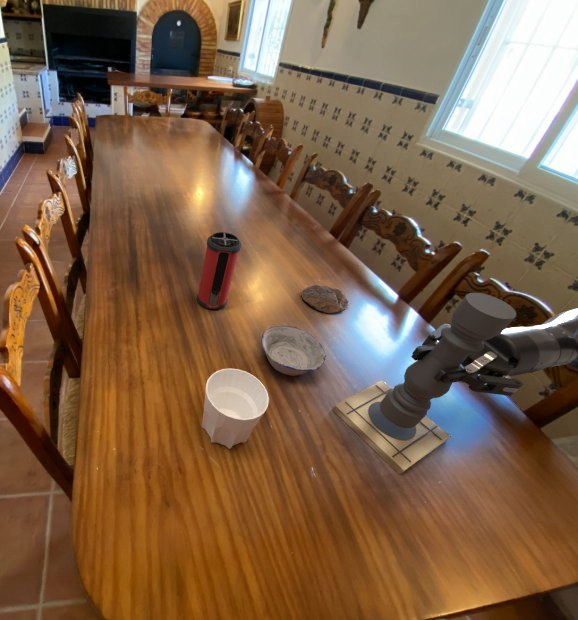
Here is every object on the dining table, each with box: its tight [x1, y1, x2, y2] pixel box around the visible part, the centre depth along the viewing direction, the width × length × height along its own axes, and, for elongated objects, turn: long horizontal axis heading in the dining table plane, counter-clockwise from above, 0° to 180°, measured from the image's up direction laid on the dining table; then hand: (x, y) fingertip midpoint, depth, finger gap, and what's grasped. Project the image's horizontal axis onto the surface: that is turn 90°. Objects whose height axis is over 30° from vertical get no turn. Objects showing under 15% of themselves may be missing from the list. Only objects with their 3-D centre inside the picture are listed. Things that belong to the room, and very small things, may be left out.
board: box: [332, 379, 452, 475], centre depth 66 cm, size 14×14×2 cm
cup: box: [200, 367, 270, 450], centre depth 60 cm, size 10×10×10 cm
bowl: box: [261, 325, 327, 377], centre depth 75 cm, size 13×13×5 cm
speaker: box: [196, 231, 242, 310], centre depth 86 cm, size 8×8×18 cm
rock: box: [300, 284, 349, 314], centre depth 94 cm, size 11×12×3 cm
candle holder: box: [379, 292, 517, 428], centre depth 56 cm, size 6×6×25 cm
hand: (427, 365), depth 55 cm, fingers closed on candle holder, 4 cm apart
